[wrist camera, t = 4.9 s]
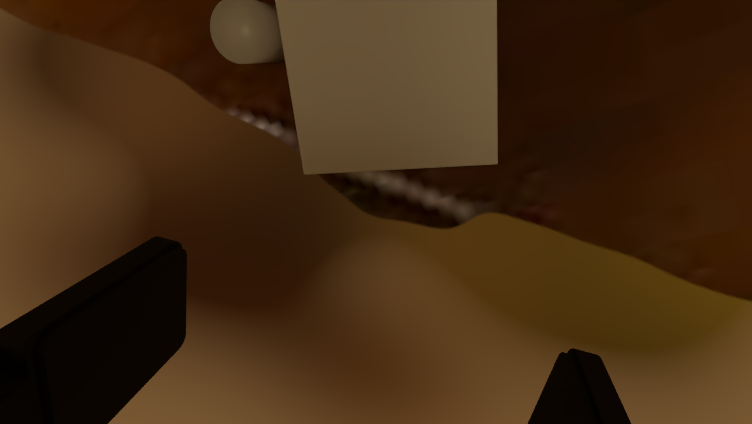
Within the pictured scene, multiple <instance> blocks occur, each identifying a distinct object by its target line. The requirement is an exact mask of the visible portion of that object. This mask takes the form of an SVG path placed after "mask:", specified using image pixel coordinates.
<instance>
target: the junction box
mask: <svg viewBox="0 0 752 424" xmlns="http://www.w3.org/2000/svg"><path fill="white" fill-rule="evenodd" d="M275 3H276V9H277V15H278V21H279V27H280V33H281V39H282V45H283V51H284V57H285V63H286V69H287V75H288V81H289V87H290V93H291V99H292V105H293V111H294V117H295V123H296V129H297V135H298V141H299V147H300V153H301V159H302V164H303V171H304V174H323V173H342V172H361V171H379V170H398V169H416V168H435V167H453V166H472V165H490V164H498V134H497V0H275Z"/></svg>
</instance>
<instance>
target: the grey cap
mask: <svg viewBox="0 0 752 424" xmlns="http://www.w3.org/2000/svg"><path fill="white" fill-rule="evenodd" d="M210 32H211V37H212V40H213V42H214V44H215V46H216V48H217V50H218V51H219V52H220V53H221V54H222V55H223V56H224V57H225V58H226V59H228V60H230V61H232V62H234V63H238V64H251V63H270V62H280V61H282V60H284V59H285V57H284V51H283V45H282V39H281V33H280V27H279V21H278V15H277V9H276V5H272V4H268V3H264V2H260V1H256V0H222V1H221V2H219V3H218V5H217V6H216V7H215V9H214V11H213V13H212V16H211V20H210Z"/></svg>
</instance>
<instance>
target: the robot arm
mask: <svg viewBox="0 0 752 424" xmlns="http://www.w3.org/2000/svg"><path fill="white" fill-rule="evenodd" d="M186 275H187V254H186V251H185V250H184V249H182V246H181V244H180V243H179V242H177V241H173V240H170V239H166V238H162V237H153V238H151V239H150V240H148V241H146V242H145V243H143V244H141V245H140V246H138V247H137V248H135V249H133V250H131V251H130V252H128V253H126V254H125V255H123V256H121V257H120V258H118V259H116V260H115V261H113V262H111V263H110V264H108V265H106V266H105V267H103V268H101V269H100V270H98V271H96V272H95V273H93V274H91V275H90V276H88V277H86V278H85V279H83V280H81V281H79V282H78V283H76V284H74V285H73V286H71V287H70V288H68V289H66V290H64V291H63V292H61V293H60V294H58V295H56V296H55V297H53V298H51V299H49V300H48V301H46V302H44V303H43V304H41V305H39V306H38V307H36V308H34V309H33V310H31V311H29V312H28V313H26V314H25V315H23V316H21V317H19V318H18V319H16V320H14V321H13V322H11V323H9V324H8V325H6V326H4V327H3V328H1V329H0V424H108V423H109V422H110V421H111V420H112V419H113V418H114V417H115V416H116V415H117V413H118V412H119V411H120V410H121V409H122V408H123V407H124V406H125V405H126V404H127V403H128V402H129V401H130V399H132V398H133V397H134V396H135V395H136V393H137V392H138V391H139V390H140V389H141V388H142V387H143V386H144V385H145V384H146V383H147V382H148V381H149V380H150V379H151V378H152V377H153V376H154V375H155V374H156V373H157V372H158V370H159V369H160V368H161V367H162V366H163V365H164V364H165V363H166V362H167V361H168V360H169V359H170V358H171V357H172V356H173V355H174V354H175V353H176V352H177V351H178V350H179V348H180V347H181V345H182V344H183V342H184V339H185V335H186V279H187V277H186ZM528 424H631V423H630V420H629V418H628V416H627V413H626V411H625V409H624V407H623V405H622V403H621V400H620V398H619V396H618V394H617V392H616V389H615V387H614V385H613V383H612V381H611V379H610V376H609V374H608V372H607V370H606V368H605V366H604V363H603V361H602V359H601V358H600V356H598V355H596V354H592V353H588V352H585V351H581V350H577V349H570V350H569V351H568V353H564V352H562V353H560V354H559V356H558V358H557V360H556V362H555V364H554V367H553V369H552V371H551V374H550V375H549V378H548V380H547V382H546V384H545V387H544V389H543V391H542V393H541V395H540V398H539V400H538V402H537V404H536V407H535V409H534V411H533V413H532V415H531V418H530V420H529V422H528Z"/></svg>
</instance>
